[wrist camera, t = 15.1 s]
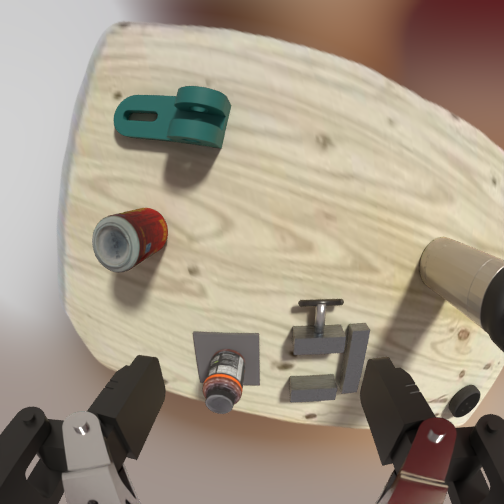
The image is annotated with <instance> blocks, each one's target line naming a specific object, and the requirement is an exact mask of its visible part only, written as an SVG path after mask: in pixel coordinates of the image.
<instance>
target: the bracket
mask: <svg viewBox="0 0 504 504" xmlns="http://www.w3.org/2000/svg"><path fill="white" fill-rule="evenodd" d="M230 109H231V104H230V102H229V100H228V98H227V96H226V95H224V94H223V93H221V92H219V91H216V90H213V89H210V88H205V87H198V86H185V87H181V88H179V89H178V92H177V96H160V95H133V96H130V97H128V98H126V99H124V100H123V101H122V102H121V103H120V104H119V106H118V107H117V109H116V111H115V114H114V126H115V128H116V130H117V131H118V132H119V133H120V134H122V135H124V136H128V137H131V138H142V139H152V140H162V141H171V142H180V143H187V144H195V145H202V146H209V147H215V148H221V149H222V144H223V139H224V135H225V130H226V126H227V121H228V117H229V113H230ZM132 113H151V114H158V117H157V119H156V120H155V121H153V122H150V121H133V120H129V116H130V115H131V114H132Z"/></svg>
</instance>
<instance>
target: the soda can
mask: <svg viewBox="0 0 504 504" xmlns="http://www.w3.org/2000/svg"><path fill="white" fill-rule="evenodd" d="M167 236H168V229H167V224H166V221H165V220H164V218H163V216H162V215H161V214H160V213H159V212H157V211H155V210H153V209H150V208H141V209H136V210H132V211H127V212H123V213H119V214H115V215H110V216H108V217H105V218H103V219H102V220H101V221H100V222H99V223H98V224H97V226H96V228H95V230H94V232H93V239H92V243H93V250H94V253H95V256H96V257H97V259H98V261H99V262H100V263H101V264H102V265H103V266H104V267H105V268H107V269H108V270H110V271H113V272H125V271H127V270H130V269H131V268H133V267H134V266H136V265H137V264H139V263H140V262H142V261H143V260H145V259H146V258H148V257H149V256H151V255H153V254H154V253H156V252H157V251H159V250H160V249H161V248H162V247H163V246H164V244H165V242H166V240H167Z"/></svg>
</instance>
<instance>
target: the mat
mask: <svg viewBox="0 0 504 504" xmlns="http://www.w3.org/2000/svg"><path fill="white" fill-rule="evenodd" d="M193 337H194V344H195V351H196V358H197V365H198V371H199V377H200V382H201V383H204V381H205V378H206V375H207V372H208V369H209V365H210V362H211V359H212V357H213V355H214V354H215V353H216V352H217V351H219V350H223V349H231V350H235V351H237V352H239V353H240V354H241V355H242V356H243V358H244V360H245V373H244V381H243V385H260V366H259V333H218V332H196V331H194V332H193Z"/></svg>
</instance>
